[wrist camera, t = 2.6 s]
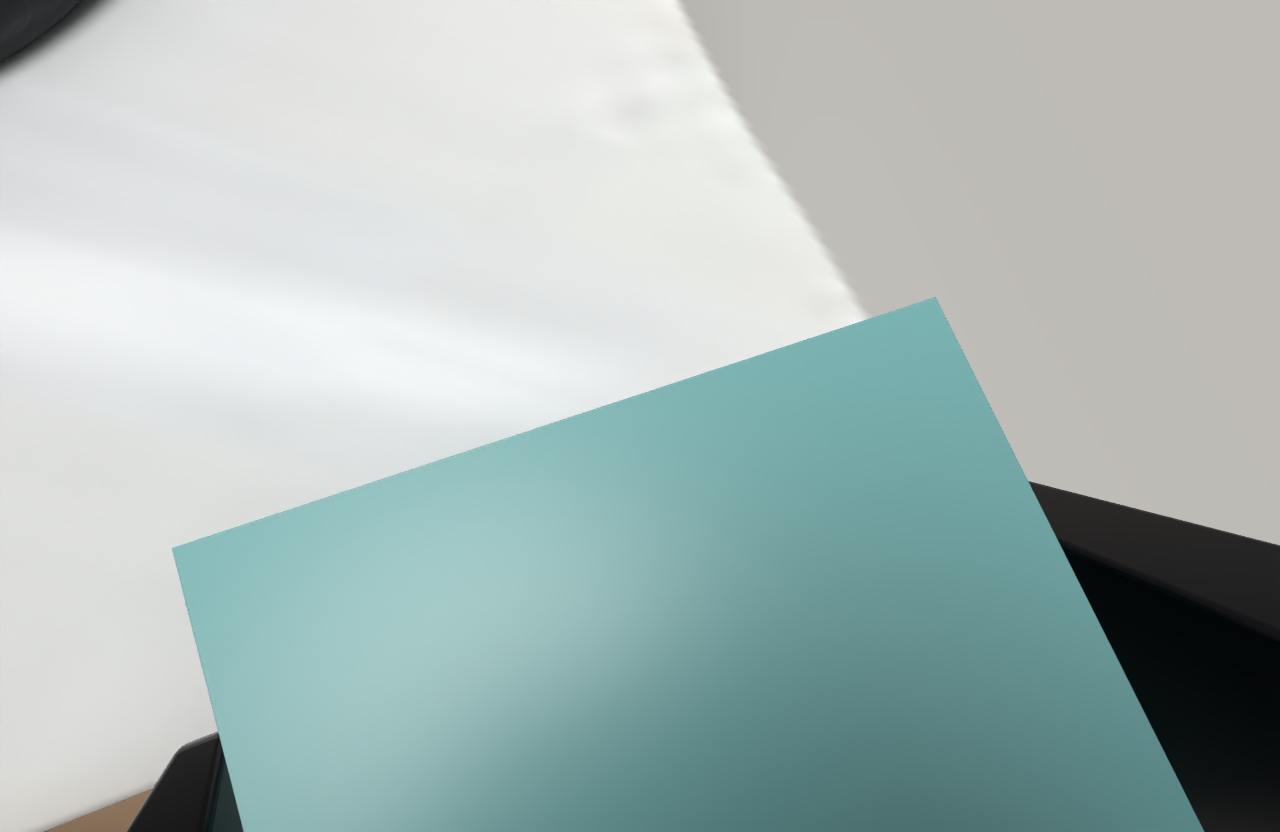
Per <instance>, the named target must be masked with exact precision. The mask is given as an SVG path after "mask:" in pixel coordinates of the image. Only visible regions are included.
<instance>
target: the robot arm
mask: <svg viewBox="0 0 1280 832" xmlns="http://www.w3.org/2000/svg"><path fill="white" fill-rule="evenodd" d="M1028 482H1029V484H1030V486H1031V488H1032V490H1033V492H1034V494H1035V496H1036V498H1037V500H1038V502H1039V504H1040V506H1041V508H1042V510H1043V512H1044V514H1045V516H1046V518H1047V520H1048V522H1049V524H1050V526H1051V528H1052V530H1053V532H1054V534H1055V536H1056V538H1057V540H1058V542H1059V544H1060V546H1061V548H1062V550H1063V552H1064V554H1065V556H1066V558H1067V560H1068V562H1069V564H1070V566H1071V568H1072V570H1073V572H1074V574H1075V576H1076V578H1077V580H1078V582H1079V584H1080V586H1081V587H1082V589H1083V591H1084V593H1085V595H1086V597H1087V599H1088V601H1089V603H1090V605H1091V607H1092V609H1093V611H1094V613H1095V615H1096V617H1097V619H1098V621H1099V623H1100V625H1101V627H1102V629H1103V631H1104V633H1105V635H1106V637H1107V639H1108V641H1109V643H1110V645H1111V647H1112V649H1113V651H1114V653H1115V655H1116V657H1117V659H1118V661H1119V663H1120V665H1121V667H1122V669H1123V671H1124V673H1125V675H1126V677H1127V679H1128V681H1129V683H1130V685H1131V687H1132V689H1133V691H1134V693H1135V695H1136V697H1137V699H1138V701H1139V703H1140V705H1141V707H1142V709H1143V711H1144V713H1145V715H1146V717H1147V719H1148V721H1149V723H1150V725H1151V727H1152V729H1153V731H1154V733H1155V735H1156V737H1157V739H1158V741H1159V743H1160V745H1161V747H1162V749H1163V751H1164V753H1165V755H1166V757H1167V759H1168V761H1169V763H1170V765H1171V767H1172V769H1173V771H1174V772H1175V774H1176V776H1177V778H1178V780H1179V782H1180V784H1181V786H1182V788H1183V790H1184V792H1185V794H1186V796H1187V798H1188V800H1189V802H1190V804H1191V806H1192V808H1193V810H1194V812H1195V814H1196V816H1197V818H1198V820H1199V822H1200V824H1201V826H1202V828H1203V830H1204V832H1280V545H1276V544H1272V543H1268V542H1264V541H1260V540H1256V539H1253V538H1249V537H1245V536H1241V535H1237V534H1233V533H1229V532H1225V531H1221V530H1217V529H1214V528H1210V527H1206V526H1201V525H1198V524H1194V523H1190V522H1186V521H1182V520H1178V519H1174V518H1171V517H1167V516H1163V515H1158V514H1155V513H1151V512H1147V511H1143V510H1139V509H1135V508H1131V507H1127V506H1124V505H1120V504H1116V503H1111V502H1108V501H1104V500H1099V499H1096V498H1092V497H1088V496H1084V495H1080V494H1077V493H1072V492H1068V491H1065V490H1060V489H1057V488H1053V487H1049V486H1045V485H1041V484H1037V483H1034V482H1030V481H1028ZM126 832H244V831H243V827H242V823H241V819H240V815H239V811H238V807H237V803H236V799H235V795H234V791H233V787H232V783H231V779H230V776H229V772H228V768H227V764H226V760H225V756H224V752H223V748H222V744H221V740H220V736H219V732H216V733H213V734H210V735H208V736H205V737H203V738H200V739H197V740H195V741H192V742H190V743H187V744H185V745H184V746H182V747H181V748H180V749H179V750H178V751H177V752H176V753H175V755H174V756H173V758H172V759H171V761H170V762H169V764H168V766H167V767H166V769H165V770H164V772H163V773H162V775H161V777H160V778H159V780H158V781H157V783H156V784H155V786H154V788H153V789H152V791H151V792H150V794H149V796H148V797H147V799H146V800H145V802H144V803H143V805H142V807H141V808H140V810H139V811H138V813H137V815H136V816H135V818H134V819H133V821H132V822H131V824H130V826H129V827H128V829H127V830H126Z"/></svg>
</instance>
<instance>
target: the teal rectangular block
mask: <svg viewBox="0 0 1280 832" xmlns="http://www.w3.org/2000/svg"><path fill="white" fill-rule="evenodd" d="M172 551H173V555H174V558H175V562H176V566H177V570H178V574H179V578H180V582H181V586H182V590H183V594H184V598H185V602H186V606H187V610H188V614H189V618H190V622H191V626H192V630H193V633H194V637H195V641H196V645H197V649H198V653H199V657H200V661H201V665H202V669H203V673H204V677H205V681H206V685H207V689H208V693H209V697H210V701H211V704H212V708H213V712H214V716H215V720H216V724H217V728H218V732H219V736H220V740H221V744H222V748H223V752H224V756H225V760H226V764H227V768H228V772H229V776H230V779H231V783H232V787H233V791H234V795H235V799H236V803H237V807H238V811H239V815H240V819H241V823H242V827H243V831H244V832H1204V830H1203V828H1202V826H1201V824H1200V822H1199V820H1198V818H1197V816H1196V814H1195V812H1194V810H1193V808H1192V806H1191V804H1190V802H1189V800H1188V798H1187V796H1186V794H1185V792H1184V790H1183V788H1182V786H1181V784H1180V782H1179V780H1178V778H1177V776H1176V774H1175V772H1174V771H1173V769H1172V767H1171V765H1170V763H1169V761H1168V759H1167V757H1166V755H1165V753H1164V751H1163V749H1162V747H1161V745H1160V743H1159V741H1158V739H1157V737H1156V735H1155V733H1154V731H1153V729H1152V727H1151V725H1150V723H1149V721H1148V719H1147V717H1146V715H1145V713H1144V711H1143V709H1142V707H1141V705H1140V703H1139V701H1138V699H1137V697H1136V695H1135V693H1134V691H1133V689H1132V687H1131V685H1130V683H1129V681H1128V679H1127V677H1126V675H1125V673H1124V671H1123V669H1122V667H1121V665H1120V663H1119V661H1118V659H1117V657H1116V655H1115V653H1114V651H1113V649H1112V647H1111V645H1110V643H1109V641H1108V639H1107V637H1106V635H1105V633H1104V631H1103V629H1102V627H1101V625H1100V623H1099V621H1098V619H1097V617H1096V615H1095V613H1094V611H1093V609H1092V607H1091V605H1090V603H1089V601H1088V599H1087V597H1086V595H1085V593H1084V591H1083V589H1082V587H1081V586H1080V584H1079V582H1078V580H1077V578H1076V576H1075V574H1074V572H1073V570H1072V568H1071V566H1070V564H1069V562H1068V560H1067V558H1066V556H1065V554H1064V552H1063V550H1062V548H1061V546H1060V544H1059V542H1058V540H1057V538H1056V536H1055V534H1054V532H1053V530H1052V528H1051V526H1050V524H1049V522H1048V520H1047V518H1046V516H1045V514H1044V512H1043V510H1042V508H1041V506H1040V504H1039V502H1038V500H1037V498H1036V496H1035V494H1034V492H1033V490H1032V488H1031V486H1030V484H1029V482H1028V480H1027V478H1026V476H1025V474H1024V472H1023V470H1022V468H1021V466H1020V464H1019V462H1018V460H1017V458H1016V456H1015V454H1014V452H1013V450H1012V448H1011V446H1010V444H1009V443H1008V440H1007V438H1006V436H1005V434H1004V432H1003V430H1002V428H1001V426H1000V424H999V422H998V420H997V418H996V416H995V415H994V412H993V411H992V408H991V407H990V404H989V403H988V401H987V399H986V397H985V395H984V393H983V391H982V389H981V387H980V385H979V383H978V381H977V379H976V377H975V375H974V373H973V371H972V369H971V367H970V365H969V363H968V361H967V359H966V357H965V355H964V353H963V351H962V349H961V347H960V345H959V343H958V341H957V339H956V337H955V335H954V333H953V331H952V329H951V327H950V325H949V323H948V321H947V319H946V317H945V315H944V313H943V311H942V309H941V307H940V305H939V303H938V301H937V299H936V298H935V297H934V298H931V299H928V300H925V301H922V302H919V303H916V304H913V305H910V306H907V307H904V308H901V309H898V310H895V311H892V312H889V313H886V314H883V315H880V316H877V317H874V318H871V319H868V320H864V321H861V322H858V323H855V324H852V325H849V326H846V327H843V328H840V329H837V330H834V331H831V332H828V333H825V334H822V335H819V336H816V337H813V338H810V339H807V340H804V341H801V342H798V343H795V344H792V345H788V346H785V347H782V348H779V349H776V350H773V351H770V352H767V353H764V354H761V355H758V356H755V357H752V358H749V359H746V360H743V361H740V362H737V363H734V364H731V365H728V366H725V367H722V368H719V369H716V370H712V371H709V372H706V373H703V374H700V375H697V376H694V377H691V378H688V379H685V380H682V381H679V382H676V383H673V384H670V385H667V386H664V387H661V388H658V389H655V390H652V391H649V392H646V393H643V394H640V395H636V396H633V397H630V398H627V399H624V400H621V401H618V402H615V403H612V404H609V405H606V406H603V407H600V408H597V409H594V410H591V411H588V412H585V413H582V414H579V415H576V416H573V417H570V418H567V419H564V420H560V421H557V422H554V423H551V424H548V425H545V426H542V427H539V428H536V429H533V430H530V431H527V432H524V433H521V434H518V435H515V436H512V437H509V438H506V439H503V440H500V441H497V442H494V443H491V444H488V445H484V446H481V447H478V448H475V449H472V450H469V451H466V452H463V453H460V454H457V455H454V456H451V457H448V458H445V459H442V460H439V461H436V462H433V463H430V464H427V465H424V466H421V467H418V468H415V469H411V470H408V471H405V472H402V473H399V474H396V475H393V476H390V477H387V478H384V479H381V480H378V481H375V482H372V483H369V484H366V485H363V486H360V487H357V488H354V489H351V490H348V491H345V492H342V493H339V494H335V495H332V496H329V497H326V498H323V499H320V500H317V501H314V502H311V503H308V504H305V505H302V506H299V507H296V508H293V509H290V510H287V511H284V512H281V513H278V514H275V515H272V516H269V517H266V518H263V519H259V520H256V521H253V522H250V523H247V524H244V525H241V526H238V527H235V528H232V529H229V530H226V531H223V532H220V533H217V534H214V535H211V536H208V537H205V538H202V539H199V540H196V541H193V542H190V543H187V544H183V545H180V546H177V547H174V548H172Z"/></svg>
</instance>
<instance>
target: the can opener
mask: <svg viewBox="0 0 1280 832" xmlns="http://www.w3.org/2000/svg"><path fill="white" fill-rule="evenodd" d="M80 1H81V0H0V62H1V61H3V60H5V59H7V58H8V57H10V56H12V55H13V54H14V53H16V52H18V51H20V50H21V49H23V48H24V47H25V46H27V45H28V44H29V43H31V42H32V41H34V40H35V39H36V38H38V37H39V36H40V35H42V34H43V33H45V32H46V31H47V30H48V29H50V28H51V27H52V26H53V25H55V23H57V22H58V21H59V20H60V19H61V18H63V17H64V16H65V15H66V14H67V13H68V12H69V11H70V10H71V9H72V8H73V7H74V6H76V5H77V4H78V3H79V2H80Z"/></svg>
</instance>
